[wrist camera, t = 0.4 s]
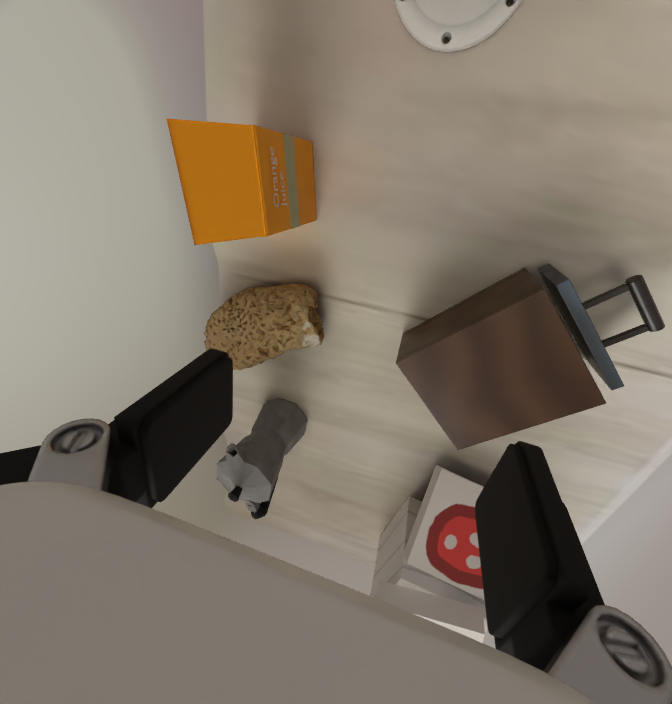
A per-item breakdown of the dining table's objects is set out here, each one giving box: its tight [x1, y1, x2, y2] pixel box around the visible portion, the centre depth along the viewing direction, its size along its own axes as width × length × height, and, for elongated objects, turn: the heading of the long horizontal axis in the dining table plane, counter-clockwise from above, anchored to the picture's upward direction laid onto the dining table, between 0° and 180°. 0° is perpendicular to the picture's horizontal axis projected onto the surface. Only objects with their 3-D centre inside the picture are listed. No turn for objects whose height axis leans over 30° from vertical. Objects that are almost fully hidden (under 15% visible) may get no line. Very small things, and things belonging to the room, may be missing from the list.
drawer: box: [538, 264, 665, 390], centre depth 38 cm, size 21×14×7 cm, turn 127°
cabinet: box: [396, 268, 606, 450], centre depth 41 cm, size 17×15×9 cm
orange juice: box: [167, 119, 316, 245], centre depth 33 cm, size 8×9×20 cm
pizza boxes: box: [370, 465, 488, 643], centre depth 54 cm, size 19×30×18 cm, turn 162°
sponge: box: [204, 284, 324, 370], centre depth 49 cm, size 13×8×20 cm
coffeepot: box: [217, 399, 307, 519], centre depth 54 cm, size 15×9×18 cm, turn 10°
